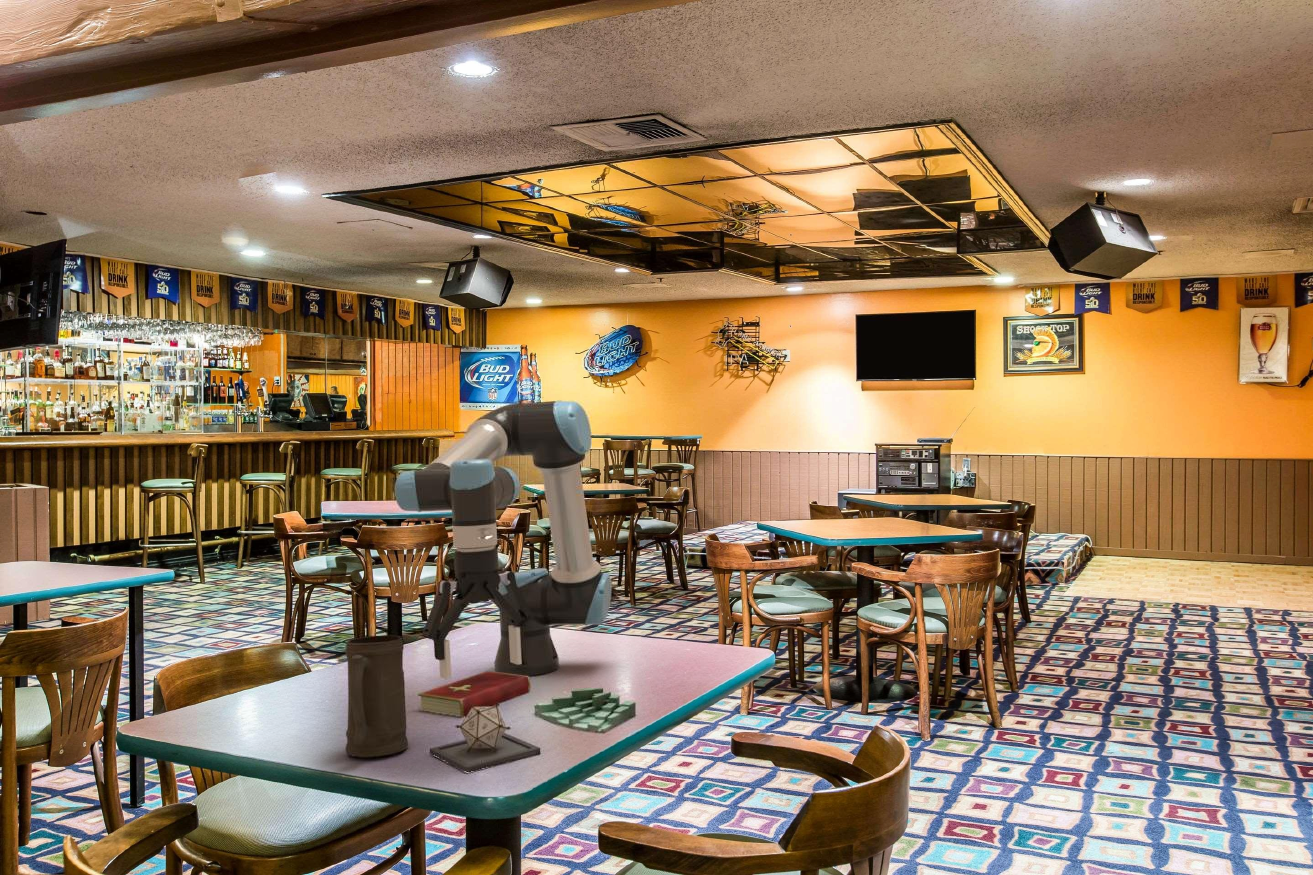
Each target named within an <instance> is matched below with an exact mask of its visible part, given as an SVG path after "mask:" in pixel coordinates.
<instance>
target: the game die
mask: <svg viewBox="0 0 1313 875" xmlns="http://www.w3.org/2000/svg"><path fill="white" fill-rule="evenodd" d="M499 706H500V704H499V702H498V703H497V704H496V705H494V706H473V704H472V703H470V707H472V708H471V709H470V711H469V713H468V714H467V716H465V717H464V719H463V721H462V722H461V724H457V725H455V726H454V727H455V728H457V729H460V730H461V733H462V735H463V736H464V737H463V738H464V740H466V742H467V744H468V746H469V749H468V750H467V753H468V752H470V751H471V749H494V752H496V753H497V749H496V748H495V747H496V745H497V744H498V742H499V740H500V739H501V737H502V735H503V733H506V732H505V731H507V730H508V731H509V730H511V729H512V728H511V727H510V726H506V724H505V722H504V719H503V716H502V715H501V713H500V710H499Z"/></svg>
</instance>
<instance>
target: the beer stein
mask: <svg viewBox="0 0 1313 875" xmlns="http://www.w3.org/2000/svg"><path fill="white" fill-rule="evenodd" d="M404 648H405V647H404V643H403V637H402V636H401V635H396V634H395V635H393V634H390V635H389V634H386V635H385V634H383V635H381V634H380V635H369V636H362V637H356V638H351V639H349V640H347V641H346V643H345V650H344V652H345V656H346V659H347V686H348V687H347V695H348V698H347V700H348V702H347V703H348V704H347V708H348V709H347V729H346V731H345V736H346V741H347V742H346V745H345V754H346V753H347V754H346V755H348V754H349V755H348V756H350V755H354V756H359V757H358V758H372V757H374V756H375V757H383V756H387V755H393V754H397V753H399V752H402V751H404V750H406V749H407V748H408V747H409V741H408V737H407V729H408V728H407V727H408V725H407V712H406V710H407V708H406V692H405V691H406V689H405V688H406V687H405V685H406V684H405V683H406V682H405V673H404V666H403V658H404V657H403V656H404ZM354 756H353V757H354Z"/></svg>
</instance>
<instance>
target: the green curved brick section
mask: <svg viewBox="0 0 1313 875" xmlns="http://www.w3.org/2000/svg"><path fill="white" fill-rule="evenodd" d="M620 698H621V697H620V695H618V694H613V695H612V691H607V692H605V691H604V687H595V688H594V687H586V688H585V687H584V688H578V689H571V695H566V696H556V697H551V701H552V702H542V703H541V702H539V703H536V704H534V705H533V708H534V715H536V716H537V717H539V718H541V719H543V720H545V721H547V722H550V723H551V724H552V723H553V724H555V725H557V724H558V725H557V726H560V725H561V726H560V727H564V728H569V729H573V730H576V729H577V731H581V730H582V731H583V732H588V733H589V732H591V733H597V734H604V733H607V732H609V731H611V729H613V728H615V727H617V726H619V725H621V724H623V723H625V722H627V721H628V720H629V719H631V718H635V717H636V709H637V708H636V705H637V704H636V703H637V702H636V701H630V700H625V701H623V702H622V703H620ZM614 726H615V727H614ZM608 730H609V731H608ZM606 731H607V732H606Z"/></svg>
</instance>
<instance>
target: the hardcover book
mask: <svg viewBox="0 0 1313 875" xmlns="http://www.w3.org/2000/svg"><path fill="white" fill-rule="evenodd" d="M530 692H531V681H530V676H524V675H516V674H508V673H500V672H495V671H492V670H491V671H490V670H485V671H483V672H481V673H477V674H475V675H472V676H468V677H465V678H462V679H460V680H459V679H458V680H456V681H453V682H451V683H450V682H449V683H447V684H444V685H442V686H438V687H434V688H432V689H429V690H425V691H422V692H419V693H417V696H418V697H420V703H421V704H420V705H421V706H420V707H421V708H420V709H422V710H426V711H431V712H430V713H432V712H436V713H435V714H439V713H442V714H441V715H445V714H451V715H450V716H452V715H456V716H455V717H458V716H460V717H462V718H465V717H466V715H467V714H468V713H469V711H470V709H471V708H472V707H470V703H472V704H473V706H496V704H497V703H498V702H499V705H501V704H502V703H504V702H508V701H510V700H512V699H513V700H514V699H515V698H518V697H521V696H523V695H526V694H529V693H530ZM426 711H425V712H426ZM464 716H465V717H464ZM460 717H459V718H460Z"/></svg>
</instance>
